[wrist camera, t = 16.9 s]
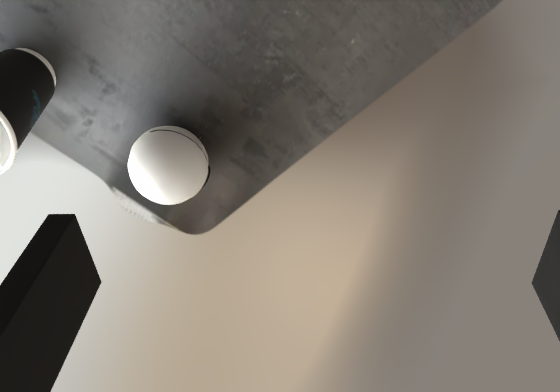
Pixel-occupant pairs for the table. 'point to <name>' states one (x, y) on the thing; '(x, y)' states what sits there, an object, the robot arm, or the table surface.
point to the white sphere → (168, 165)
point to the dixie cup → (21, 98)
